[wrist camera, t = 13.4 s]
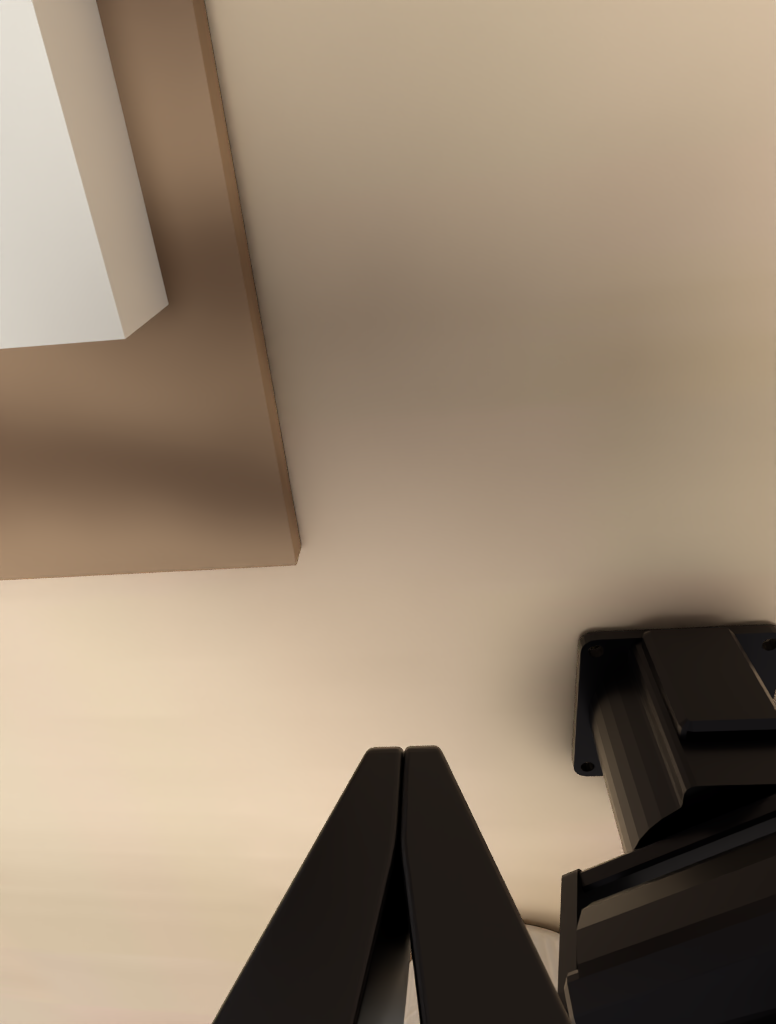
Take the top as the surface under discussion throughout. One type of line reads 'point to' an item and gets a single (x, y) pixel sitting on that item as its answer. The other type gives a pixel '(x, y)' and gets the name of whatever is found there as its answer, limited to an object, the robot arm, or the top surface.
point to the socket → (68, 185)
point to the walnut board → (155, 360)
